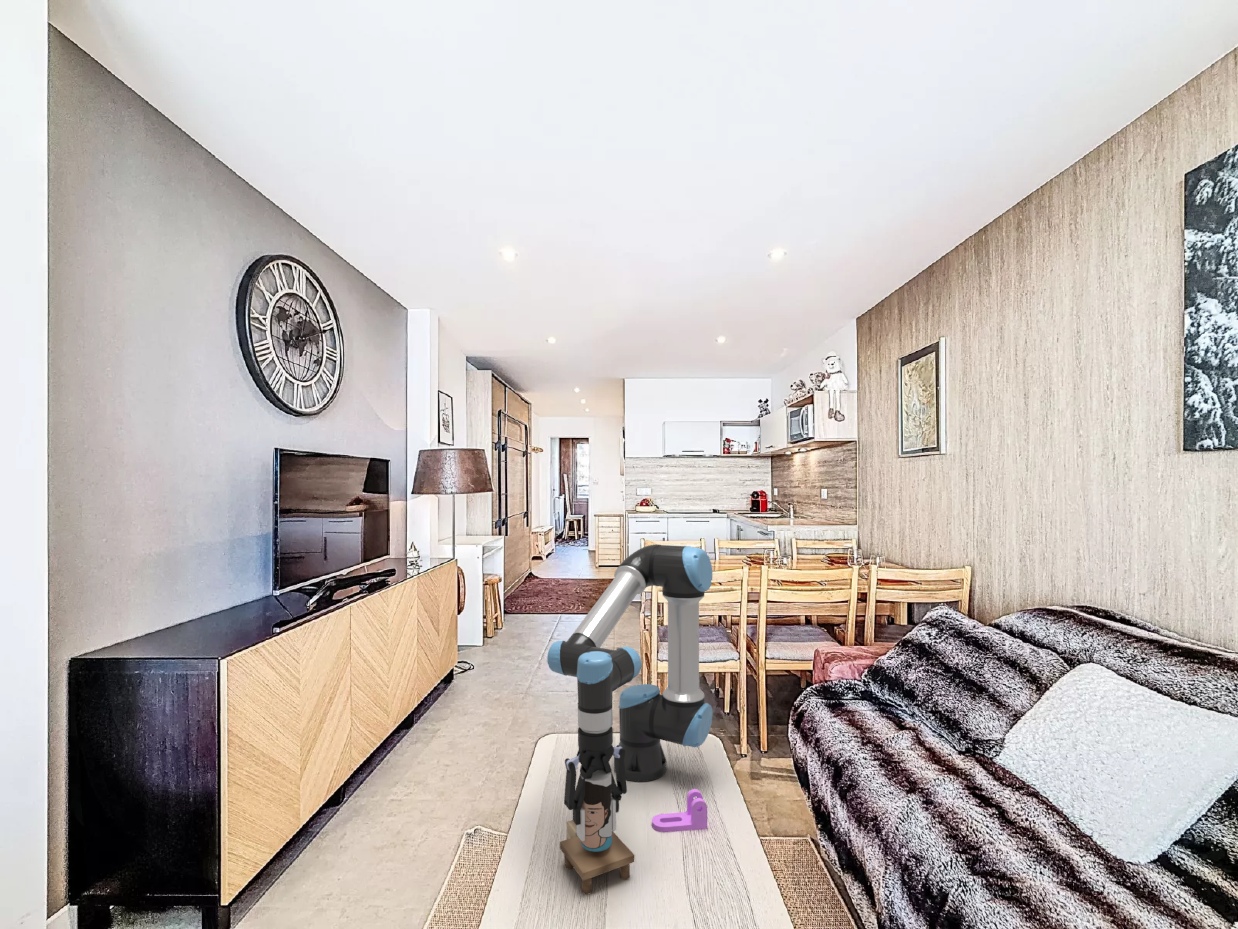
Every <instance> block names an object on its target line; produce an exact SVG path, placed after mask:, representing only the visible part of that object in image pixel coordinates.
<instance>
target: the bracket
mask: <svg viewBox="0 0 1238 929" xmlns="http://www.w3.org/2000/svg"><path fill="white" fill-rule="evenodd" d="M651 828H653V830H654V831H656V832H659V833H672V832H673V833H674V832H675V833H676V832H685V831H696V830H698V831H699V830H707V829H708V805H707V803H706V801H705V799H704V797H703V794H702V793H701V791H700V790H699V789H697V788H692V789H690V790H689V791H688V792H687V795H686V811H682V812H680V811H679V812H670V813H659V814H656V815H654V816H653V817H652V818H651Z"/></svg>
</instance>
